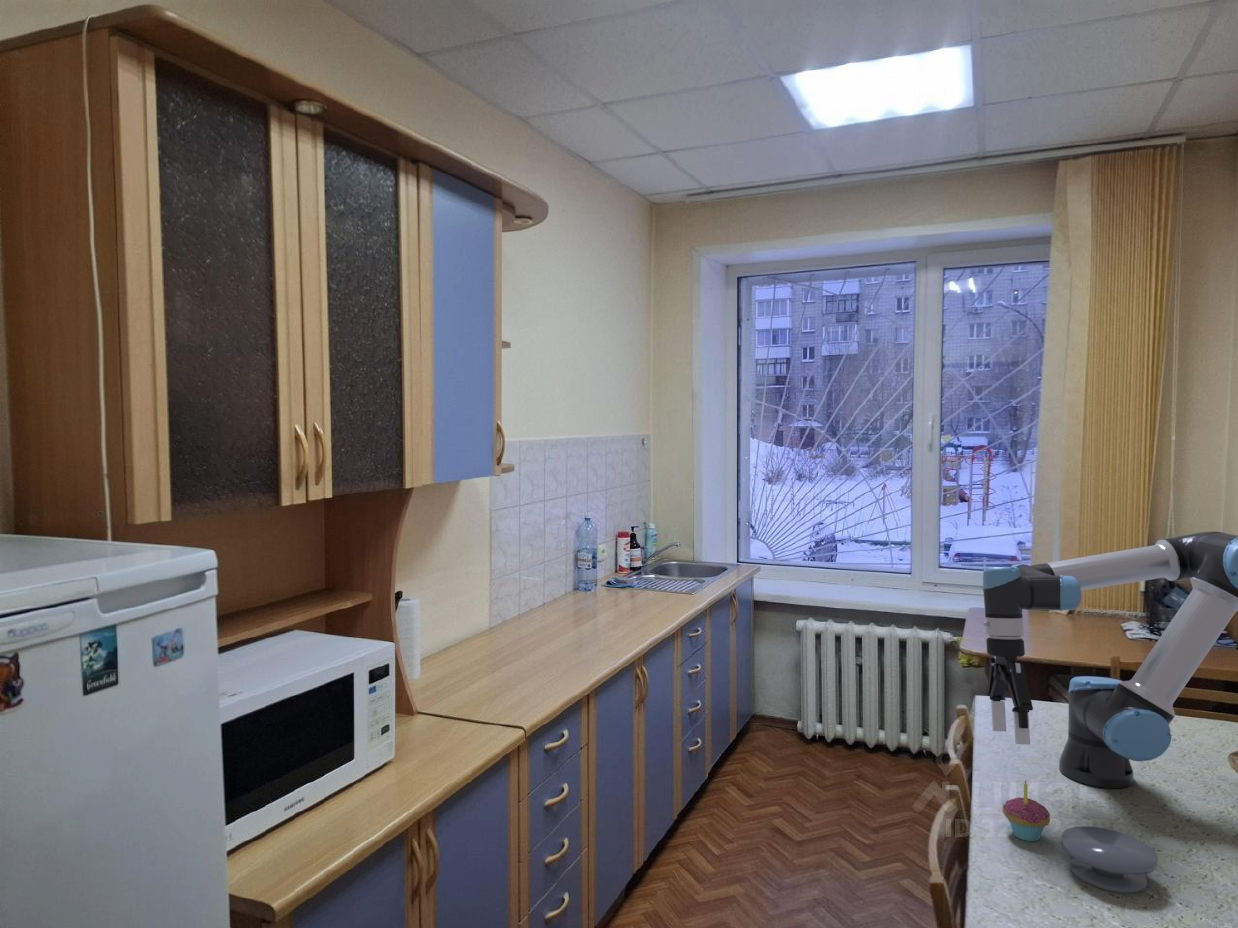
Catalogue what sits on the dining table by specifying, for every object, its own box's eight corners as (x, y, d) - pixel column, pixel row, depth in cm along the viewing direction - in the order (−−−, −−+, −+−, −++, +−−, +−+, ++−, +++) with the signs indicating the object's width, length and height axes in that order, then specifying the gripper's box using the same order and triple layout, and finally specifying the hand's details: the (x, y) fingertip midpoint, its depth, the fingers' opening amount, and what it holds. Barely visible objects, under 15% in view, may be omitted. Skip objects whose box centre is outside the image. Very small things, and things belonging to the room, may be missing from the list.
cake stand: (1129, 856, 155) (1130, 828, 155) (1175, 900, 140) (1176, 870, 140) (1047, 851, 157) (1047, 824, 157) (1083, 895, 142) (1084, 865, 142)
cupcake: (1047, 850, 157) (1049, 789, 157) (999, 838, 162) (1000, 779, 162) (1051, 831, 165) (1052, 773, 164) (1005, 821, 169) (1006, 764, 169)
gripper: (969, 632, 192) (974, 725, 189) (1007, 642, 167) (1014, 749, 164) (1002, 633, 191) (1007, 726, 188) (1046, 642, 166) (1053, 750, 164)
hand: (1010, 737), depth 176 cm, fingers open, 13 cm apart
